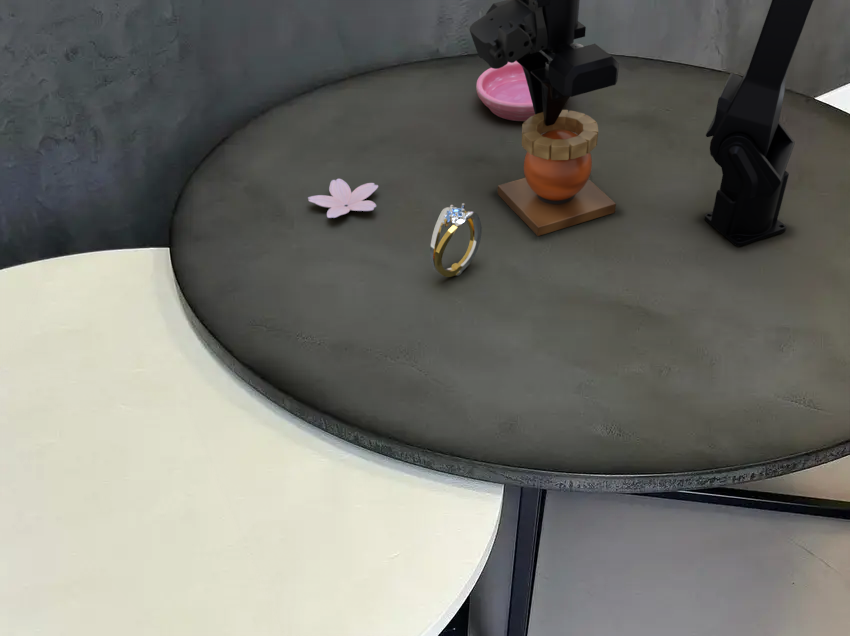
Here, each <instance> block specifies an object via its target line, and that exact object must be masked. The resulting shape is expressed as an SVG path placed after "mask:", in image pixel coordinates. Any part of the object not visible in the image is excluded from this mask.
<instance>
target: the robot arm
mask: <svg viewBox="0 0 850 636" xmlns="http://www.w3.org/2000/svg"><path fill="white" fill-rule="evenodd" d="M814 1H815V0H771V2H770V5H769V8H768V11H767V14H766V16H765V20H764V22H763V25H762V28H761V31H760V34H759V37H758V40H757V42H756V46H755V48H754V51H753V54H752V57H751V59H750V62H749V65H748V68H747V70H746V72H745V73H744V75H743V76H740V75H738V74H736V73H733V72H730V74H729V76H728V78H727V80H726V81H725V84H724V86H723V88H722V91H721V93H720V95H719V97H718V99H717V103H716V108H715V109H716V110H715V114H714V116H713V118H712V120H711V123H710V125H709V127H708V129H707V130H706V131H707V132H706V133H705V137H706V138H711V137H712V138H711V140H710V143H709V154H710V156H711V157H712V159H713V160H714V162H715V164H717V165H718V166H719V167H720V168H721V173H722V176H721V181H720V186H719V189H717V190H716V195H715V198H714V202H713V203H714V204H713V208H712V211H710V212H706V213H705V214H704V218H703V219H704V220H705V221H706V223H708V224H709V225H710V226H712V227H713V228H714V229H715V230H716V231H718V232H719V233H720V234H721V235H722V236H724V238H726V239H727V240H728V241H730V242H731V243H732V244H733V245H735V246H736V247H742V246H745V245H747V244H751V243H755V242H758V241H760V240H763V239H766V238H769V237H773V236H776V235H779V234H781V233H784V232H786V230H787V225H786V224H785V223H783V221H781V220H779V215H780V210H781V207H782V202H783V199H784V195H785V191H786V187H787V184H788V179H789V175H790V172H788V171H787V167H788V163H789V160H790V158H791V155H792V153H793V150H794V148H795V145H796V144H795V142H796V141H795V140H794V138H793V136H792V135H790V133H789V132H788V131H787V129H786V128H785V127H784V125H783V124H782V123H781V121H780V117H781V114H782V113H781V112H782V107H783V102H784V98H785V90H786V81H787V75H788V70H789V68H790V64H791V62H792V60H793V57H794V54H795V51H796V48H797V46H798V43H799V41H800V38H801V35H802V33H803V30H804V28H805V25H806V23H807V19H808V17H809V15H810V11H811V9H812V7H813V4H814ZM579 11H580V0H500V1H498V2H493V3H492V4H491V6H490V7H489V9H488V10H487V11H486V13H485V15H483V16H481V17H480V18H479V19H477V20H476V21H474V22H473V23H472V24H471V25H470V26H469V28H468V29H469V33H470V36H471V38H472V42H473V45H474V48H475V50H476V53H477V55H478V57H479V58H480V59H482V60H484V61H485V62H486V63H487V64H488V66H489V68H494V69H498V68H501V67H503V66H505V65H506V64H507V63H508V62H510V63H514V62H515V61H517V62H518V63H519V64H520V65H521V66H522V68H523V70H524V74H525V77H526V80H527V84H528V88H529V92H530V96H531V100H532V104H533V108H534V112H535V114H538V113H542V112H543V116H544V123H545V125H546V126H550V125H553V124H555V122H556V120H557V119H558V117H559V115H560V113H561V112H562V110H564V108H565V106H566V104H567V103H568V101H569V99H570V98H571V97H576V96H580V95H583V94H587V93H591V92H594V91H598V90H602V89H605V88H608V87H609V88H610V87H612V86H616V85H617V82H618V77H619V70H620V68H619V67H620V62H618V60H617V59H616V58H615V57H614V56H613V55H611V54H610V53H609V52H607V51H606V50H604V49H603V48H602V47H600V46H599V45H597V44H596V43H592V44H588V45H585V46H584V45H583V44H581V43H574V41H575V40H579V39H582V38H585V37H586V31H587V30H586V29H587V26H586V25H584V24H583V23H581V22H580V21H579V14H580V13H579Z"/></svg>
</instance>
